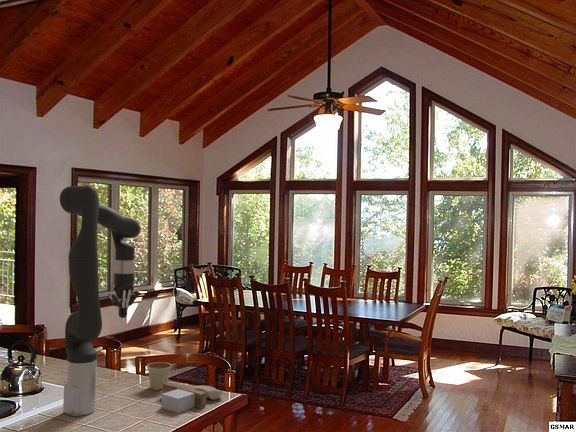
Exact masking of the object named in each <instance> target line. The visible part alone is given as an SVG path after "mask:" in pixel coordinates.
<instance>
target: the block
mask: <svg viewBox="0 0 576 432" xmlns="http://www.w3.org/2000/svg"><path fill="white" fill-rule="evenodd" d="M160 407H161V409H164V410H167V411H170V412H174V413H177V414H180V413H181V412H184V411H188V410H190V409H193V408H196V407H195V393H192V392H189V391H185V390H181V389H176V390H173V391H170V392H167V393H163V394H161V406H160Z"/></svg>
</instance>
